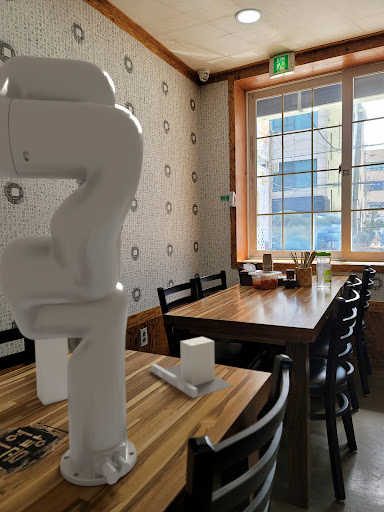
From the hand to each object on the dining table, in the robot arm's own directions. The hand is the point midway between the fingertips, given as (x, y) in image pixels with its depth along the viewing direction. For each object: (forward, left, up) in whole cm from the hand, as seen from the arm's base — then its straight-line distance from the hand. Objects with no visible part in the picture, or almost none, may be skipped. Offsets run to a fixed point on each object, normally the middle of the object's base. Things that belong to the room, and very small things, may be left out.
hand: (97, 261), depth 84 cm
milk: (+9, +9, -33) cm, 35 cm away
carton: (-6, -23, -31) cm, 39 cm away
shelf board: (-4, -22, -33) cm, 40 cm away
